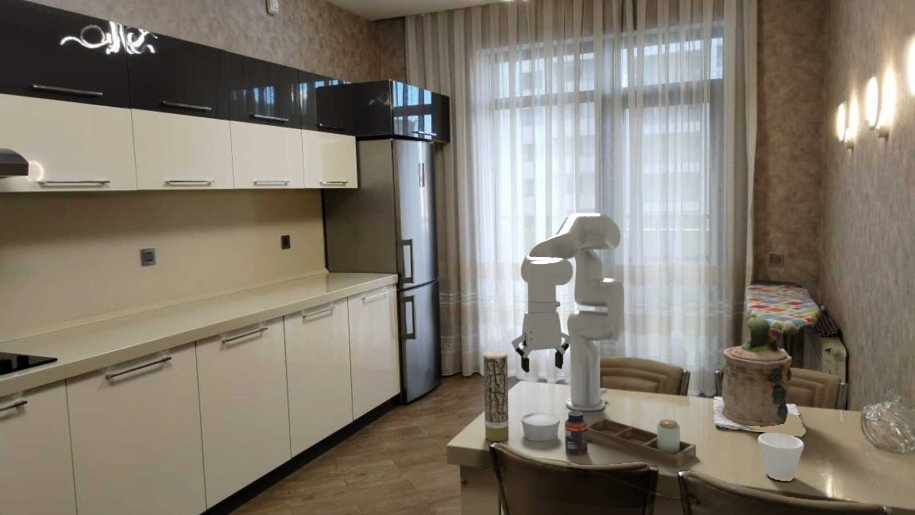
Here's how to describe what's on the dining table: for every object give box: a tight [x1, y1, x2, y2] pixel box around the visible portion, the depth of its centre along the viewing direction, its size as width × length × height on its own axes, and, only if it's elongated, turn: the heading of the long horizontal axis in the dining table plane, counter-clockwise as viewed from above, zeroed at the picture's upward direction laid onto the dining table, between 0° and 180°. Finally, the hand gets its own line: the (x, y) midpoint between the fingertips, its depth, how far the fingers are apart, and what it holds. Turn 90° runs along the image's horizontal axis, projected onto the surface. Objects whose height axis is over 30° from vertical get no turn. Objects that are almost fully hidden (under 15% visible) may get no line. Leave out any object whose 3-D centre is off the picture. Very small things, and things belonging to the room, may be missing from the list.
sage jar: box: [656, 418, 681, 455], centre depth 168 cm, size 6×6×9 cm
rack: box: [587, 417, 697, 469], centre depth 175 cm, size 10×29×4 cm, turn 43°
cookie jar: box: [712, 313, 804, 431], centre depth 193 cm, size 25×25×32 cm
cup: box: [757, 433, 805, 478], centre depth 156 cm, size 10×10×9 cm
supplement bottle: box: [564, 410, 588, 457], centre depth 173 cm, size 6×6×11 cm
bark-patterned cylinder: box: [483, 350, 510, 442], centre depth 184 cm, size 7×7×25 cm
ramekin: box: [520, 412, 561, 442], centre depth 186 cm, size 11×11×5 cm
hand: (542, 369), depth 173 cm, fingers open, 9 cm apart
